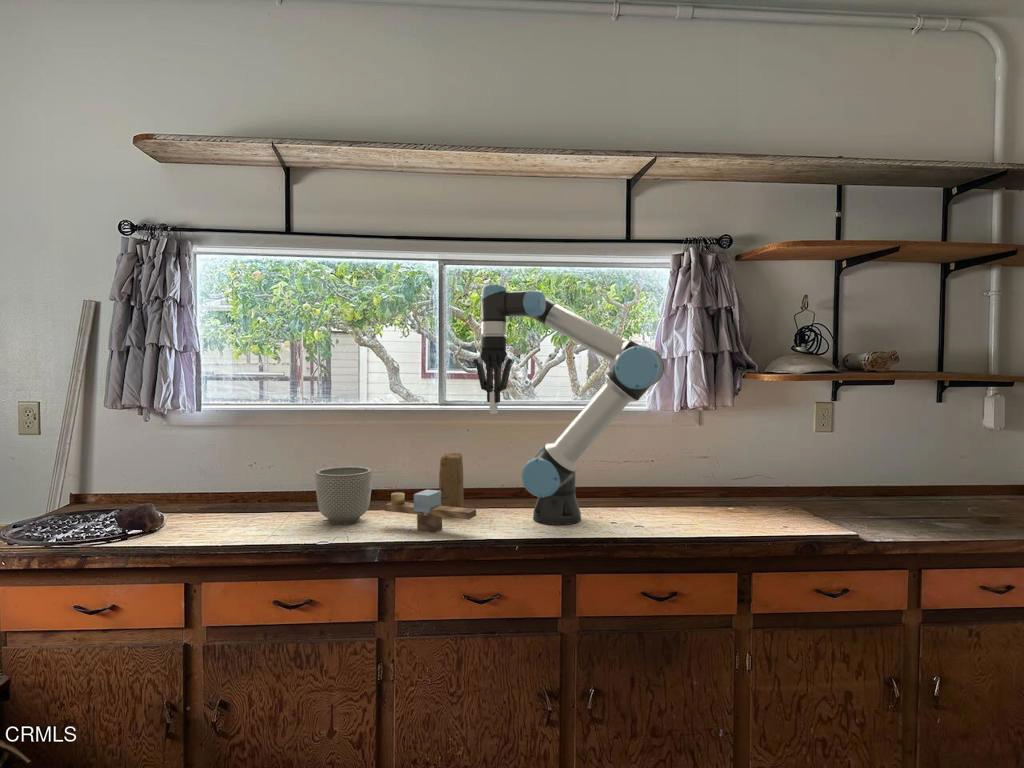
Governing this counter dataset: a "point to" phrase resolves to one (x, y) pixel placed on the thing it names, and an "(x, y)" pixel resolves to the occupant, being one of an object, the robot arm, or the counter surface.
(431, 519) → the beam
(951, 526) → the counter surface
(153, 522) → the rock
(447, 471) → the block
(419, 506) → the rider
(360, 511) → the planter
